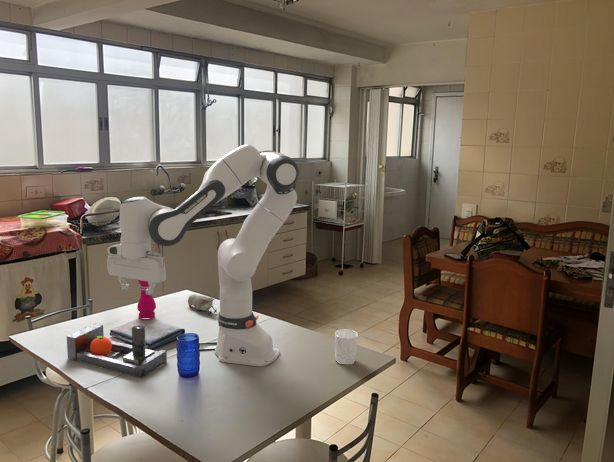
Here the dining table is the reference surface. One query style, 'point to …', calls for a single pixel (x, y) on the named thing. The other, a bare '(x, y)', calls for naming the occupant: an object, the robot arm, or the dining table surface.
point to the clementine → (101, 346)
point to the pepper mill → (146, 302)
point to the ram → (138, 346)
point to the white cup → (345, 346)
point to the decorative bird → (201, 302)
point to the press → (81, 352)
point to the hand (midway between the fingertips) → (137, 292)
